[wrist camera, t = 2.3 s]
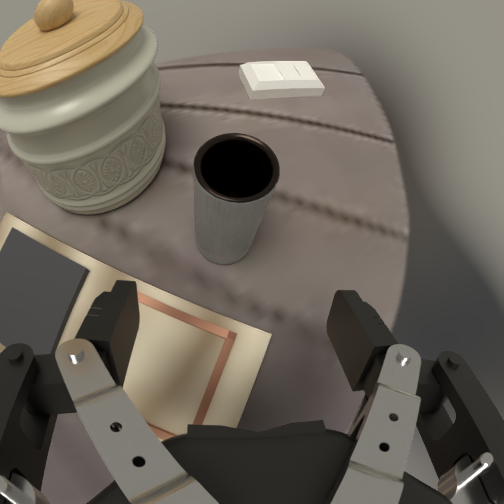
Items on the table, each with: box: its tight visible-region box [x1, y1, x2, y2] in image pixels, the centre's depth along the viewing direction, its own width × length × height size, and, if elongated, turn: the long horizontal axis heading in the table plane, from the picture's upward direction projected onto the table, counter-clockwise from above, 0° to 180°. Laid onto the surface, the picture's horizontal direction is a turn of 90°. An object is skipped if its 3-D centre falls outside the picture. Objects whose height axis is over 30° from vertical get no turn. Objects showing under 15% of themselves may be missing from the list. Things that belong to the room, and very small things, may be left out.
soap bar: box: [239, 61, 325, 100], centre depth 32 cm, size 5×9×3 cm, turn 107°
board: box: [0, 213, 272, 441], centre depth 20 cm, size 26×11×2 cm, turn 70°
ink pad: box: [0, 227, 90, 355], centre depth 19 cm, size 9×9×1 cm
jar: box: [0, 0, 166, 215], centre depth 18 cm, size 13×13×18 cm
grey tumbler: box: [193, 133, 280, 265], centre depth 20 cm, size 4×4×10 cm
